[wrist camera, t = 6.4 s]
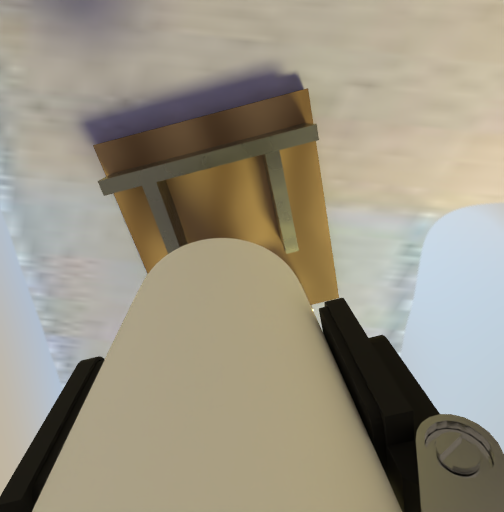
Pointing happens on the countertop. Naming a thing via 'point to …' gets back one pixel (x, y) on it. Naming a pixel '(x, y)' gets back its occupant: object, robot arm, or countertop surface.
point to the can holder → (158, 172)
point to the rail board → (233, 188)
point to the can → (219, 401)
